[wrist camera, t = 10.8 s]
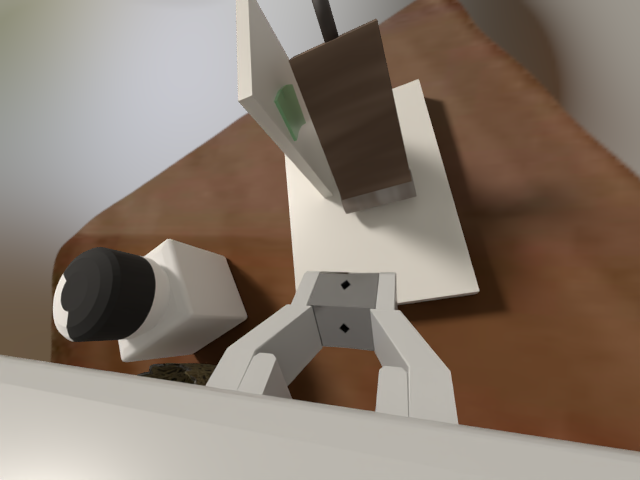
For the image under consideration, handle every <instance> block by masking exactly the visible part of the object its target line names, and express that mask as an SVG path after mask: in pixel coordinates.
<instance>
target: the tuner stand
mask: <svg viewBox="0 0 640 480" xmlns="http://www.w3.org/2000/svg"><path fill="white" fill-rule="evenodd" d="M236 24H237V64H238V65H237V67H238V68H237V69H238V101H239V103H240V104H241V105H242V106H243V107H244V108H245V109H246V110H247V112H248V113H249V114H250V115H251V116H252V117H253V118H254V120H255V121H256V122H257V123H258V124H259V125H260V126H261V127H262V128H263V130H264V131H265V132H266V133H267V134H268V135H269V136H270V137H271V139H272V140H273V141H274V142H275V143H276V144H277V145H278V146H279V148H280V149H281V150H282V151H283V152H284V153H285V162H286V175H287V187H288V199H289V211H290V223H291V235H292V247H293V259H294V272H295V284H296V292H297V289H298V287H299V285H300V282H301V280H302V278H303V275H304V273H305V272H307V271H320V272H321V271H328V272H358V273H380V272H396V276H397V305H403V304H410V303H417V302H424V301H431V300H438V299H445V298H452V297H459V296H466V295H473V294H477V293H478V292H479V287H478V284H477V280H476V277H475V273H474V270H473V267H472V263H471V260H470V256H469V253H468V249H467V246H466V242H465V239H464V235H463V232H462V228H461V225H460V221H459V218H458V214H457V211H456V207H455V204H454V200H453V197H452V193H451V190H450V187H449V183H448V180H447V176H446V173H445V169H444V166H443V162H442V159H441V155H440V152H439V148H438V145H437V141H436V138H435V134H434V131H433V127H432V124H431V120H430V117H429V113H428V110H427V107H426V103H425V100H424V96H423V93H422V89H421V86H420V82H419V79H418V80H415V81H413V82H410V83H407V84H405V85H402V86H399V87H397V88H394V89H392V91H393V96H394V100H395V105H396V110H397V114H398V119H399V124H400V128H401V133H402V138H403V142H404V147H405V152H406V156H407V161H408V166H409V169H410V170H411V173H412V177H413V181H414V186H415V190H416V197H412V198H408V199H404V200H400V201H396V202H392V203H388V204H385V205H381V206H377V207H373V208H369V209H365V210H361V211H357V212H353V213H349V214H346V212H345V211H344V208H343V206H342V202H341V197H340V193H339V190H338V187H337V185H336V182H335V180H334V177H333V175H332V172H331V169H330V167H329V164H328V162H327V159H326V156H325V154H324V151H323V149H322V146H321V144H320V141H319V138H318V136H317V133H316V131H315V128H314V125H313V123H312V120H311V118H310V115H309V113H308V110H307V107H306V105H305V102H304V100H303V97H302V94H301V92H300V89H299V87H298V84H297V82H296V79H295V76H294V74H293V71H292V69H291V66H290V63H289V58H288V56H287V55H286V53H285V51H284V49H283V47H282V46H281V44H280V42H279V41H278V39H277V37H276V35H275V34H274V31H273V30H272V28H271V26H270V24H269V22H268V21H267V19H266V17H265V15H264V13H263V12H262V10H261V8H260V6H259V5H258V3H257V1H256V0H236Z"/></svg>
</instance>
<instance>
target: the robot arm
mask: <svg viewBox="0 0 640 480" xmlns="http://www.w3.org/2000/svg"><path fill="white" fill-rule="evenodd" d="M322 346H329V347H345V348H354V349H363V350H371V351H375V353H376V355H377V357H378V359H379V361H380V363H381V365H382V368H381V369H380V370H379V379H378V390H377V402H376V412H373V411H367V410H360V409H354V408H347V407H340V406H334V405H327V404H321V403H314V402H307V401H301V400H294V399H292V397H291V395H290V392H289V390H288V387H287V386H288V385H289V384H290V383H291V382H292V381H293V380H294V379H295V378H296V376H297V375H298V374H299V373H300V372H301V371H302V370H303V369H304V368H305V366H306V365H307V364H308V363H309V362H310V361H311V360H312V359H313V358H314V356H315V355H316V354H317V353H318V352H319V351H320V350H321V349H322ZM0 480H640V452H638V451H631V450H624V449H618V448H611V447H605V446H598V445H591V444H585V443H578V442H571V441H565V440H558V439H552V438H545V437H538V436H532V435H525V434H519V433H512V432H505V431H499V430H492V429H486V428H479V427H472V426H466V425H459V424H458V419H457V413H456V406H455V399H454V392H453V385H452V379H451V372H450V370H449V369H448V368H447V367H446V366H445V364H444V363H443V362H442V361H441V359H440V358H439V357H438V356H437V355H436V353H435V352H434V351H433V350H432V348H431V347H430V346H429V345H428V344H427V342H426V341H425V340H424V339H423V338H422V336H421V335H420V334H419V333H418V331H417V330H416V329H415V328H414V327H413V325H412V324H411V323H410V322H409V320H408V319H407V318H406V317H405V316H404V314H403V313H402V312H401V311H400V310H398V305H397V276H396V272H380V273H358V272H328V271H321V272H320V271H307V272H305V273H304V275H303V278H302V280H301V282H300V285H299V287H298V289H297V292H296V294H295V296H294V299H293V301H292V303H291V305H285V306H284V307H283V308H281V309H280V310H279V311H277V312H276V313H274V314H273V315H272V316H270V317H269V318H268V319H266V320H265V321H263V322H262V323H261V324H259V325H258V326H257V327H255V328H254V329H252V330H251V331H250V332H248V333H247V334H246V335H244V336H243V337H242V338H240V339H239V340H237V341H236V342H235V343H233V344H232V345H231V346H229V347H228V348H227V349H226V351H225V353H224V355H223V356H222V358H221V360H220V361H219V363H218V365H217V367H216V368H215V370H214V372H213V374H212V375H211V377H210V379H209V381H208V382H207V384H206V386H202V385H196V384H189V383H183V382H176V381H169V380H163V379H156V378H150V377H143V376H136V375H130V374H123V373H116V372H110V371H103V370H97V369H90V368H83V367H77V366H70V365H64V364H57V363H50V362H44V361H37V360H31V359H24V358H18V357H11V356H4V355H0Z"/></svg>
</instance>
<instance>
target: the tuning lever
mask: <svg viewBox="0 0 640 480" xmlns="http://www.w3.org/2000/svg"><path fill="white" fill-rule="evenodd" d="M312 3H313V6H314V9H315V12H316V16H317V19H318V22H319V25H320V29H321V32H322V35H323V38H324V41H325V43H323V44H320V45H318V46H316V47H314V48H311V49H309V50H307V51H305V52H303V53H301V54H298V55H296V56H294V57H293V58H291V59H290V60H289V63H290V66H291V69H292V71H293V74H294V76H295V79H296V82H297V84H298V87H299V89H300V92H301V94H302V97H303V100H304V102H305V105H306V107H307V110H308V113H309V115H310V118H311V120H312V123H313V125H314V128H315V131H316V133H317V136H318V138H319V141H320V144H321V146H322V149H323V151H324V154H325V156H326V159H327V162H328V164H329V167H330V169H331V172H332V175H333V177H334V180H335V182H336V185H337V187H338V190H339V193H340V197H341V202H342V206H343V208H344V211H345V212H346V214H349V213H353V212H357V211H361V210H365V209H369V208H373V207H377V206H381V205H385V204H388V203H392V202H396V201H400V200H404V199H408V198H412V197H416V190H415V186H414V181H413V177H412V173H411V170H410V169H409V166H408V161H407V156H406V152H405V147H404V142H403V138H402V133H401V128H400V124H399V119H398V114H397V110H396V105H395V100H394V96H393V91H392V86H391V82H390V77H389V72H388V68H387V63H386V58H385V54H384V49H383V44H382V40H381V35H380V30H379V26H378V21H377V19H375V20H372V21H370V22H368V23H366V24H363V25H361V26H359V27H357V28H355V29H353V30H351V31H348V32H346V33H344V34H342V35H340V36H338V32H337V29H336V25H335V22H334V19H333V15H332V11H331V8H330V5H329V1H328V0H312Z"/></svg>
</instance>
